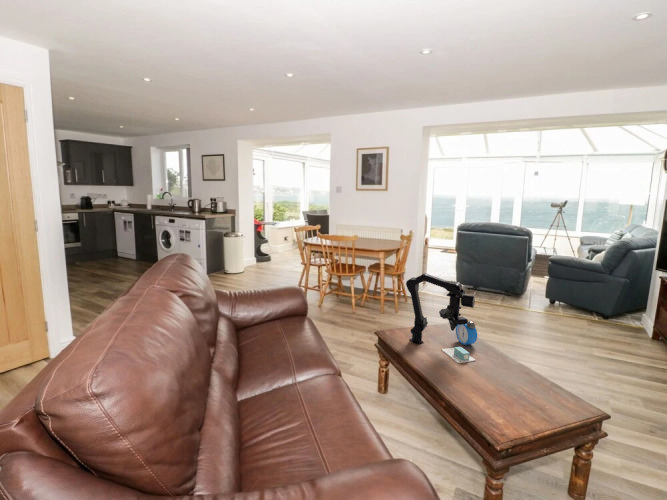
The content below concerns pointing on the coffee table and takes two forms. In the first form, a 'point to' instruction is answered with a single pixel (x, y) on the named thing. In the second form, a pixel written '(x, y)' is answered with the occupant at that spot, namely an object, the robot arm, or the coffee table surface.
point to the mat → (451, 354)
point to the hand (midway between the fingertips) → (452, 330)
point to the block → (461, 353)
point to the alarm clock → (466, 333)
